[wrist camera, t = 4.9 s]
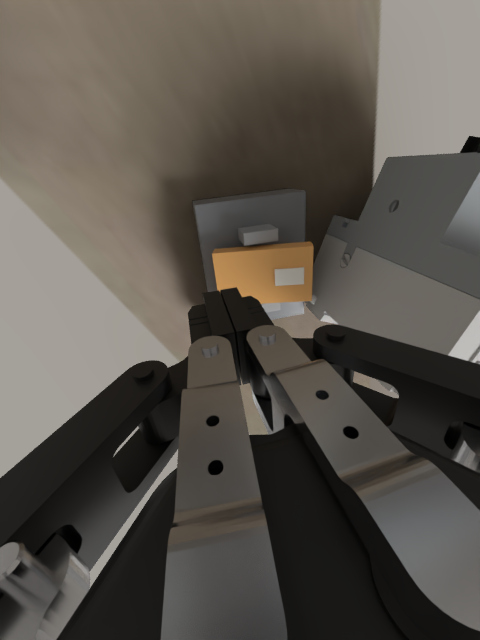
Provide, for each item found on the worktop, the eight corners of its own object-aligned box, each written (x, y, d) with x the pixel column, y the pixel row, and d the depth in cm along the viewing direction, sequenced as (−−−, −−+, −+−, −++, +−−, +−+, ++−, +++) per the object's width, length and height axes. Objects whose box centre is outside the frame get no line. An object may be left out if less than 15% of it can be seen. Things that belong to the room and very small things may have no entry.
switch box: (192, 200, 22) (196, 209, 18) (290, 188, 23) (318, 193, 19) (211, 314, 27) (218, 342, 22) (291, 300, 28) (313, 324, 23)
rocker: (215, 247, 21) (211, 254, 19) (309, 239, 20) (313, 246, 18) (222, 296, 23) (219, 306, 21) (308, 291, 22) (312, 301, 20)
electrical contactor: (435, 167, 25) (729, 165, 12) (360, 312, 30) (500, 420, 17) (366, 135, 22) (636, 87, 9) (299, 299, 28) (407, 412, 15)
